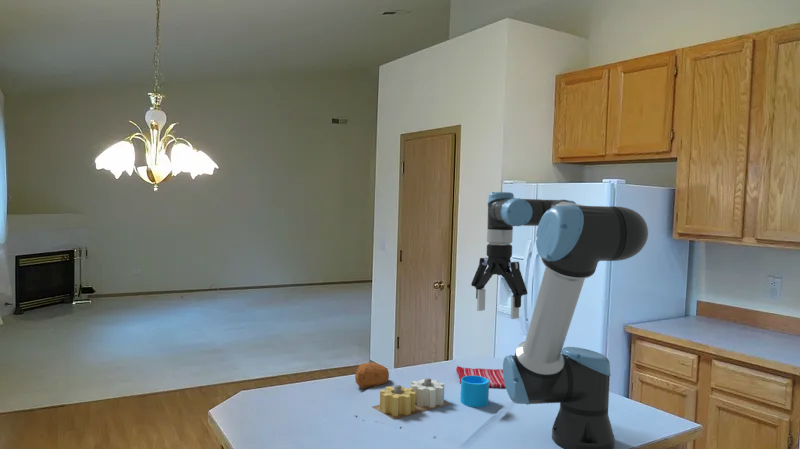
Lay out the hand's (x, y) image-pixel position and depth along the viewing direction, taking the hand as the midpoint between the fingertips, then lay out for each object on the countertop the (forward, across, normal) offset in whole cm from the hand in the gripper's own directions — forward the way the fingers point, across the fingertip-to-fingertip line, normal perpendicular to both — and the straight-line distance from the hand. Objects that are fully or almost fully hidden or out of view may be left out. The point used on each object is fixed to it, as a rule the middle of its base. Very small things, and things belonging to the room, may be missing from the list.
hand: (497, 314), depth 166 cm
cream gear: (+25, +8, +20) cm, 33 cm away
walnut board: (+27, +8, +25) cm, 38 cm away
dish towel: (+28, +15, -15) cm, 35 cm away
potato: (+27, +32, +23) cm, 48 cm away
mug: (+27, +2, +7) cm, 28 cm away
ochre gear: (+25, +8, +30) cm, 40 cm away
